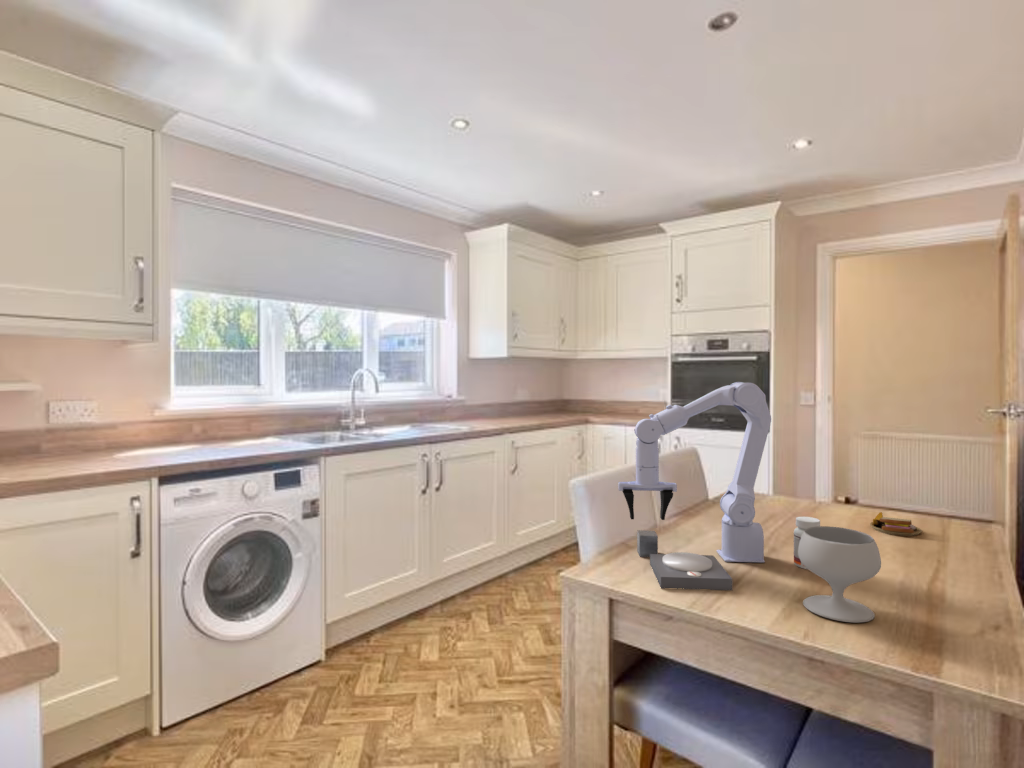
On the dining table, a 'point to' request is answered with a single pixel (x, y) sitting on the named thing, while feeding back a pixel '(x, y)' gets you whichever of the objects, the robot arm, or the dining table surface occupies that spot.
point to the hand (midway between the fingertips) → (647, 518)
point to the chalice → (839, 569)
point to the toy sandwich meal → (894, 526)
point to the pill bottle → (802, 526)
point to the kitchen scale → (689, 571)
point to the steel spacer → (647, 543)
